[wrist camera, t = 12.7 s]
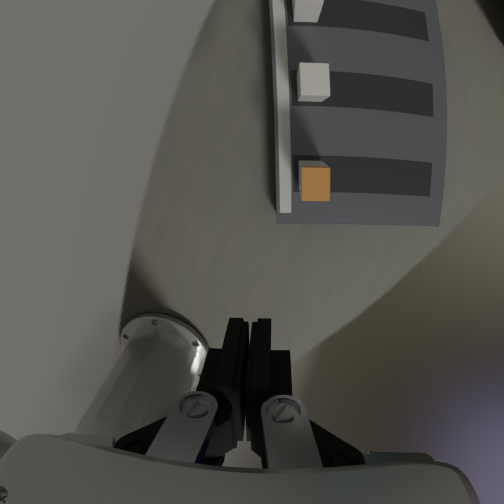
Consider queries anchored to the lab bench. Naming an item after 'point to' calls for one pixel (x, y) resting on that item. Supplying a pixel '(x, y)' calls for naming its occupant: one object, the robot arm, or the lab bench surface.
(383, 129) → the breaker panel
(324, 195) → the breaker
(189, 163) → the lab bench surface
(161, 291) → the lab bench surface
